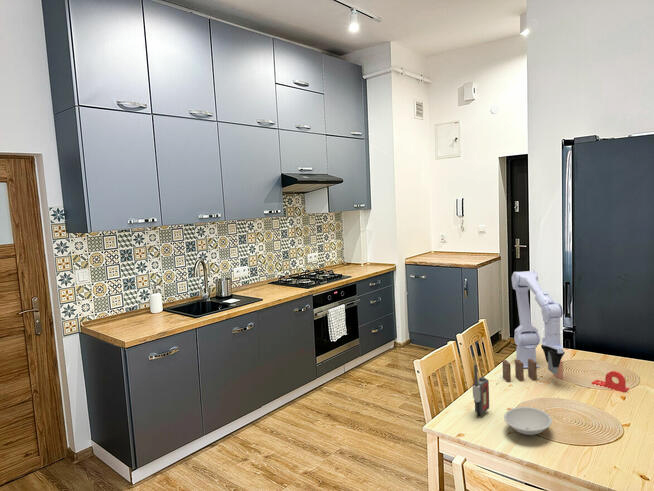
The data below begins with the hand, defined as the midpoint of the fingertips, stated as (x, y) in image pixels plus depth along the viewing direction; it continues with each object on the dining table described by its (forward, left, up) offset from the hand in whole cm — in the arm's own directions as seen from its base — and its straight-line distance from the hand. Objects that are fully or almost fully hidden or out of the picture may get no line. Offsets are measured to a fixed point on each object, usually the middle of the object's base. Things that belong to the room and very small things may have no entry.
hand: (552, 364), depth 184 cm
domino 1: (-7, -11, -9) cm, 16 cm away
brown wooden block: (-7, -16, -9) cm, 20 cm away
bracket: (+5, +20, -9) cm, 23 cm away
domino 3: (-7, +6, -9) cm, 12 cm away
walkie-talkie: (+23, -37, -9) cm, 45 cm away
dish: (+37, -25, -9) cm, 46 cm away
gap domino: (0, 0, -3) cm, 3 cm away
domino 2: (-7, -5, -9) cm, 12 cm away
